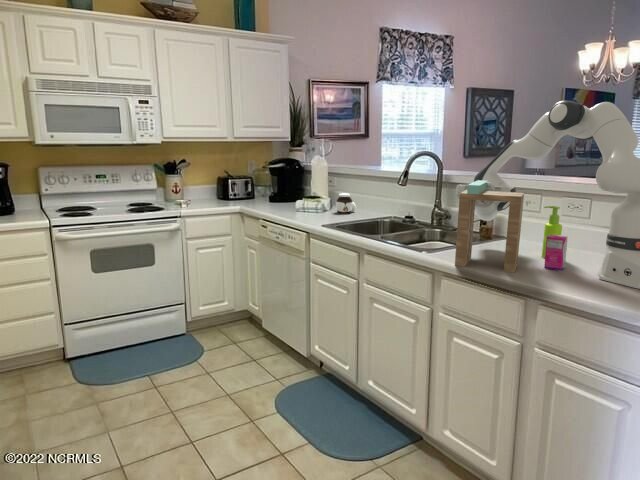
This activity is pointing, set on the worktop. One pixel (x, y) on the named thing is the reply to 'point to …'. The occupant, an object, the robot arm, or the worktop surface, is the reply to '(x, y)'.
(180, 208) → the worktop surface
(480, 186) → the bar
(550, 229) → the soap dispenser
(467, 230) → the bridge
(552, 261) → the supplement box
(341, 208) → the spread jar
